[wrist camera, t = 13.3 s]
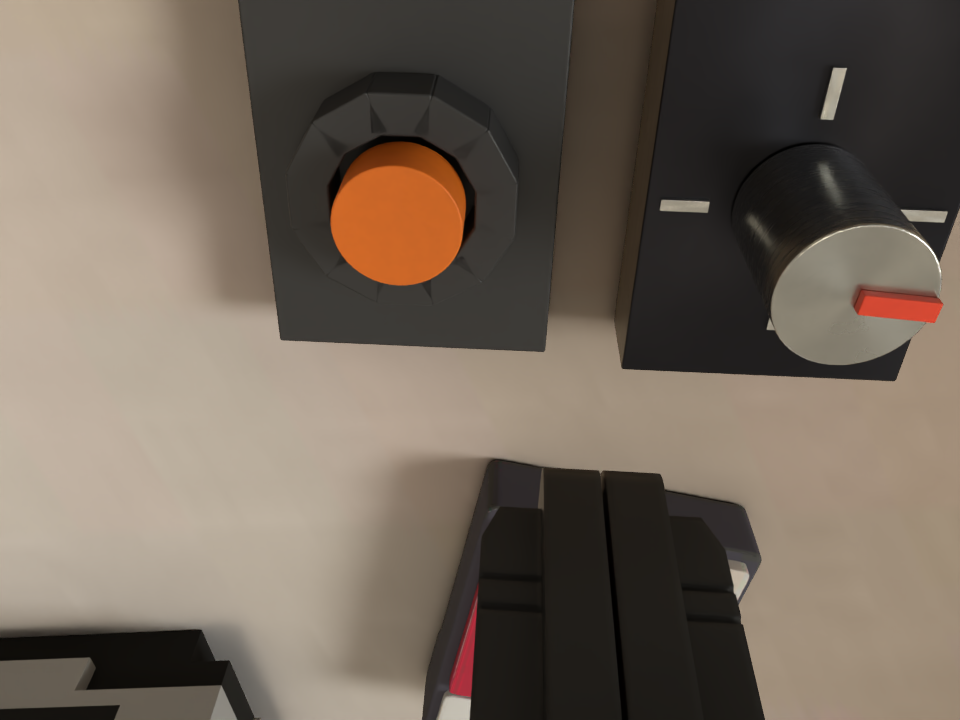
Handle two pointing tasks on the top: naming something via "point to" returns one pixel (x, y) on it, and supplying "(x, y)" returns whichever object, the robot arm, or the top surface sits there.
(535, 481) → the calculator
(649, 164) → the dial panel
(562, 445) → the top surface
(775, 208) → the dial
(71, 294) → the top surface
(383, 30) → the button block
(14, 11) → the top surface
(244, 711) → the game console
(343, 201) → the button
